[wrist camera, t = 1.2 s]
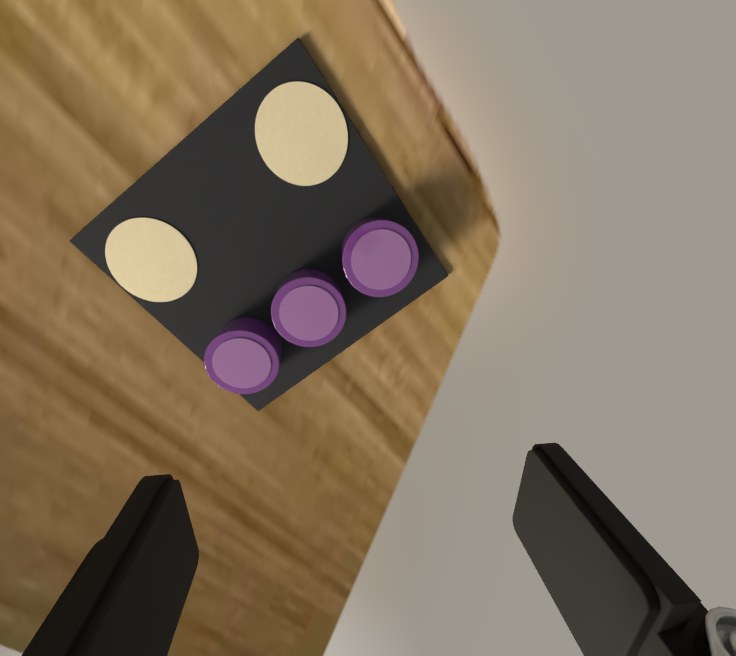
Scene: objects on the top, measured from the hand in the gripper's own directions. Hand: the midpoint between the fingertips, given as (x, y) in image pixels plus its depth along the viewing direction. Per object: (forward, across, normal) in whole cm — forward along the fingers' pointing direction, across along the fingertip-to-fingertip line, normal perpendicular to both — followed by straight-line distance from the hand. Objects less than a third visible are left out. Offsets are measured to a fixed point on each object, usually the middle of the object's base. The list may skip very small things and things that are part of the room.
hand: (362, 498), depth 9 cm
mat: (+25, +6, -2) cm, 25 cm away
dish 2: (+24, +2, +2) cm, 25 cm away
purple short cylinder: (+24, -4, -2) cm, 25 cm away
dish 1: (+24, +9, +7) cm, 27 cm away
